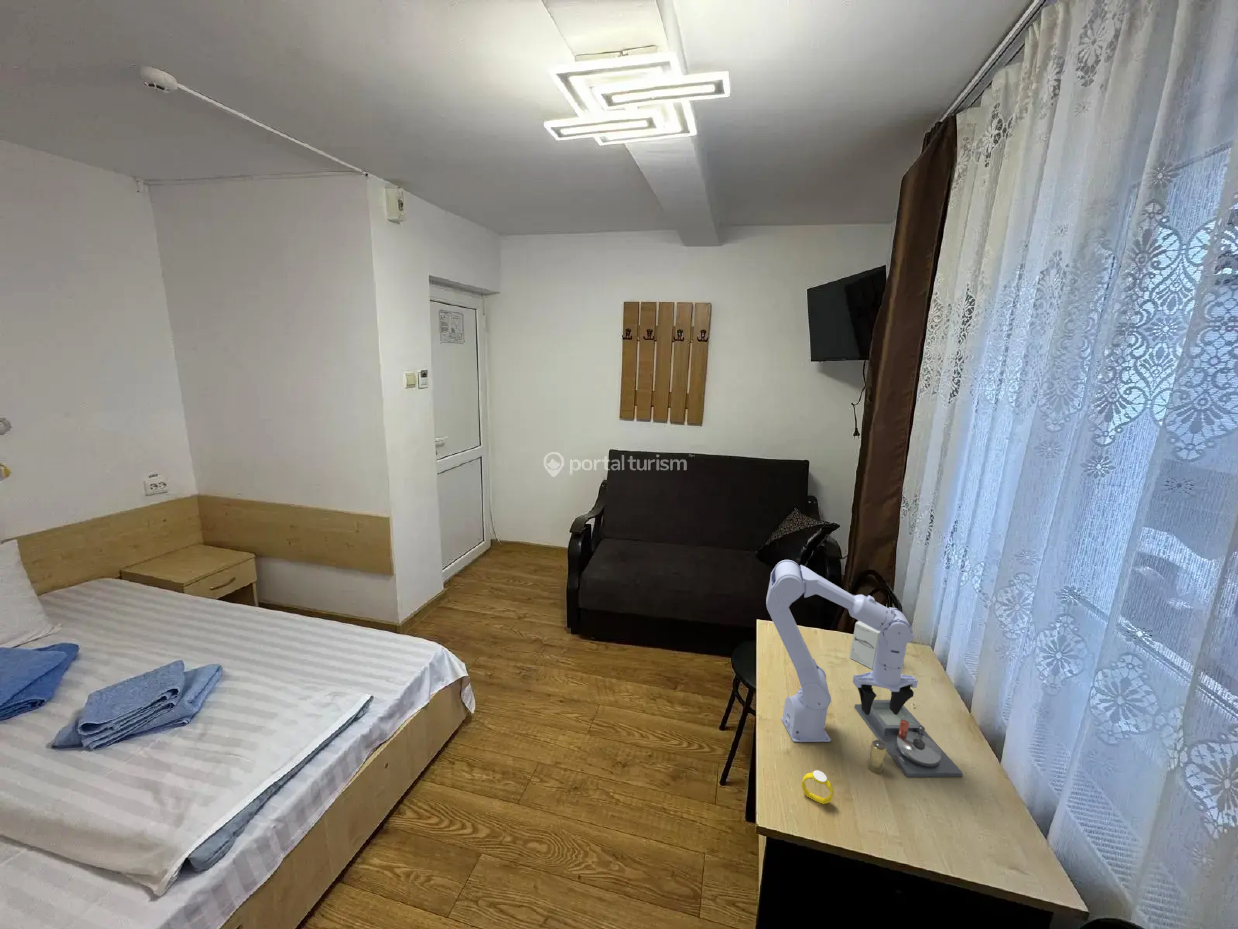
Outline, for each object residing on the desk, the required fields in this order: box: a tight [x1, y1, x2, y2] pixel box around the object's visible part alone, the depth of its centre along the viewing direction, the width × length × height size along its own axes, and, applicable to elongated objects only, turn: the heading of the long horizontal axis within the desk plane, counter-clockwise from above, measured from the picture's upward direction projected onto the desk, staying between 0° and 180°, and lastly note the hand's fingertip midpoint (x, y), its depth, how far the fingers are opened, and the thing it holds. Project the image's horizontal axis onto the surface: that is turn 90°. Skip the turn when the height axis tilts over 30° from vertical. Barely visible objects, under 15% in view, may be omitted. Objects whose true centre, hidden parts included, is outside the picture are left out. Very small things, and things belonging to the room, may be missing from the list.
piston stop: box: [867, 739, 887, 775], centre depth 108 cm, size 3×3×7 cm
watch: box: [801, 769, 834, 805], centre depth 100 cm, size 6×3×6 cm, turn 60°
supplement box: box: [849, 620, 880, 670], centre depth 148 cm, size 7×7×13 cm
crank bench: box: [854, 699, 963, 778], centre depth 118 cm, size 13×22×4 cm, turn 3°
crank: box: [896, 720, 941, 767], centre depth 112 cm, size 9×9×6 cm
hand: (879, 711), depth 114 cm, fingers open, 6 cm apart
